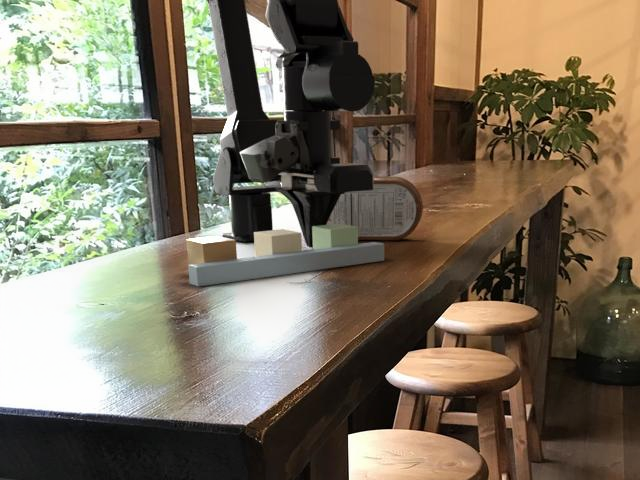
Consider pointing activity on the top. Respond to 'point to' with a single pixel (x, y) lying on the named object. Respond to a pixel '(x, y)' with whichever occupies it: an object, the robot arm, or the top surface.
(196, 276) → the straightedge
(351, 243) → the sage block
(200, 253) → the maple block
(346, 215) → the tin
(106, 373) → the top surface
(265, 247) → the cream block
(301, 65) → the robot arm
